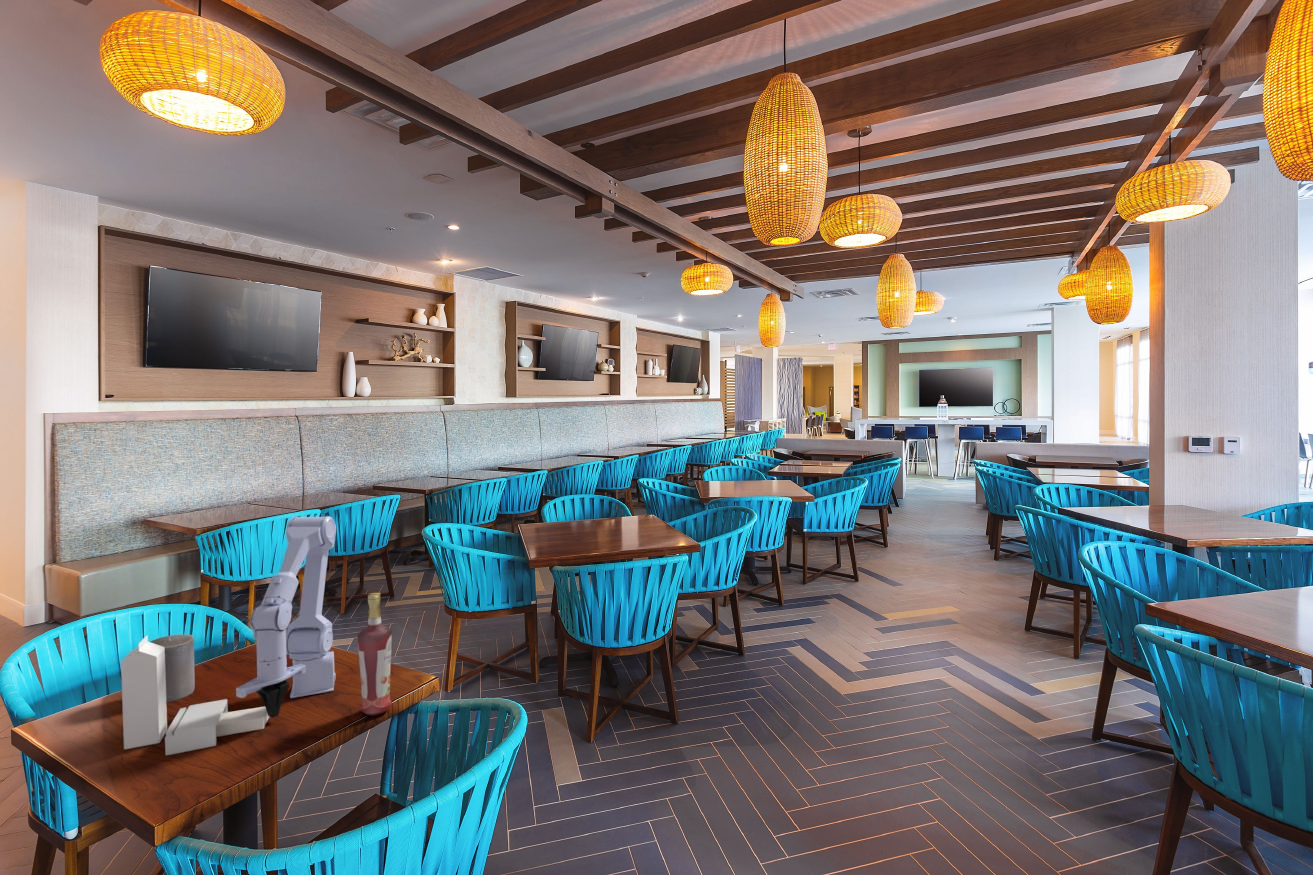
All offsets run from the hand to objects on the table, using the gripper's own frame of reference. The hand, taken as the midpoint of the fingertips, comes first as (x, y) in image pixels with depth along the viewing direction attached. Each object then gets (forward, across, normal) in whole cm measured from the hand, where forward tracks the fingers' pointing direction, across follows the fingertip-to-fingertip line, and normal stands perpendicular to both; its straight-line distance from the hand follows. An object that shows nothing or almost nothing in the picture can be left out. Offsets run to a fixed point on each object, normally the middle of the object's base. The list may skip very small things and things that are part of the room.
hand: (273, 715), depth 139 cm
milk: (+2, +17, -17) cm, 24 cm away
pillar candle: (+2, +3, -36) cm, 37 cm away
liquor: (+2, -14, +17) cm, 22 cm away
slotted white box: (+1, +11, -8) cm, 14 cm away
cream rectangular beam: (+1, +5, -4) cm, 7 cm away
